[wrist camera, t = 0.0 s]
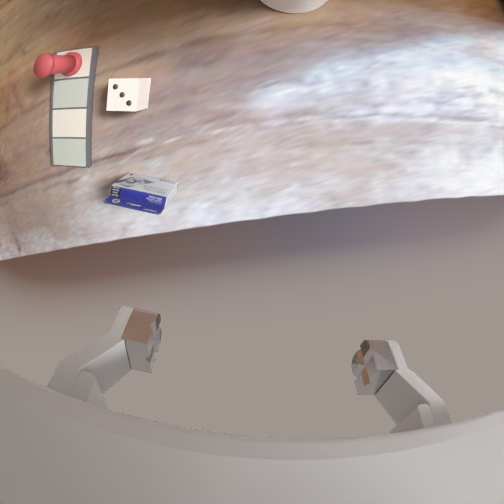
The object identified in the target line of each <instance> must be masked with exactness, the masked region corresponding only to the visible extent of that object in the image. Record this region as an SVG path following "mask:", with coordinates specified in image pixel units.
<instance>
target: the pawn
mask: <svg viewBox="0 0 504 504" xmlns="http://www.w3.org/2000/svg"><path fill="white" fill-rule="evenodd" d="M81 65H82V57H81V55H80V54H79V53H77V52H68V53H66V54H65V55H51V54H49V53H45V54H41V55H40V56H39V57H38V58H37V59H36V61H35V64H34V73H35V75H36V76H37V77H39V78H43V77H47V76H48V75H50V74H60V73H61V74H63V75H64V76H72V75H74V74H76V73H77V72H78V71H79V70H80V68H81Z"/></svg>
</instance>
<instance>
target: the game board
mask: <svg viewBox="0 0 504 504" xmlns="http://www.w3.org/2000/svg"><path fill="white" fill-rule="evenodd" d="M98 49H99V47H97V46H96V47H87V48H79V49H72V50H66V51H60V52H55V53H54V55H65V54H66V53H68V52H77V53H79V54H80V55H81V57H82V65H81V68H80V70H79V71H78V72H77V73H76V74H74V75H72V76H64V75H63V74H61V73H60V74H52V84H51V103H50V149H51V165H59V166H75V167H91V166H92V159H91V140H92V110H93V94H94V82H95V72H96V64H97V56H98Z"/></svg>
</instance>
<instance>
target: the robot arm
mask: <svg viewBox="0 0 504 504" xmlns="http://www.w3.org/2000/svg"><path fill="white" fill-rule="evenodd" d="M260 1H261V2H263V3H264V4H265V5H267V6H268V7H270V8H272V9H275V10H277V11H281V12H285V13H294V14H297V13H306V12H309V11H312V10H315V9H317V8H318V7H320V6H321V5H323V4H324V3H325V2H327V1H329V0H260ZM160 321H161V317H160V314H159V313H155V312H151V311H146V310H142V309H138V308H133V307H129V306H124V305H123V306H122V307H121V308H120V310H119V312H118V314H117V316H116V318H115V321H114V322H113V324H112V326H111V328H110V330H109V333H108V335H102V336H100V337H99V338H97V339H96V340H94V341H93V342H91V343H89V344H87V345H86V346H84V347H83V348H81V349H79V350H78V351H76V352H74V353H73V354H71V355H70V356H68V357H66V358H65V359H63V360H61V361H60V362H59V364H58V366H57V368H56V369H55V372H54V374H53V376H52V378H51V380H50V382H49V384H48V386H47V387H45V386H43V385H41V384H38V383H36V382H34V381H31V380H29V379H27V378H25V377H23V376H21V375H18V374H17V373H15V372H12V371H11V370H9V369H6V368H5V367H3V366H1V365H0V504H504V410H496V411H493V412H490V413H486V414H483V415H479V416H476V417H472V418H468V419H465V420H460V421H456V422H452V423H451V420H450V417H449V414H448V412H447V409H446V406H445V403H444V401H443V400H442V399H441V398H440V397H439V396H438V395H437V394H436V393H435V392H434V391H433V390H432V389H430V387H428V386H427V385H426V384H425V383H424V382H423V381H422V380H421V379H420V378H419V377H418V376H417V375H416V374H415V373H413V371H411V370H408V368H407V366H406V363H405V360H404V358H403V355H402V352H401V350H400V347H399V345H398V343H397V342H396V341H385V340H364V341H363V342H362V343H361V345H360V347H361V350H359V351H357V352H356V353H355V355H354V357H353V359H352V372H353V374H354V375H355V376H356V377H357V378H356V380H355V385H356V390H357V394H358V395H366V394H367V395H375V397H376V398H377V400H378V401H379V402H380V404H381V405H382V406H383V407H384V409H385V410H386V411H387V413H388V414H389V415H390V416H391V418H392V419H393V420H394V421H395V423H396V424H397V425H396V426H395V427H394V428H393V429H392V430H391V431H390V432H389V434H381V435H371V436H361V437H343V438H274V437H257V436H246V435H236V434H226V433H218V432H211V431H203V430H198V429H192V428H186V427H180V426H174V425H170V424H165V423H160V422H156V421H151V420H147V419H143V418H139V417H135V416H131V415H127V414H124V413H120V412H116V411H113V410H110V409H109V408H108V406H107V404H106V402H105V399H104V397H103V395H102V394H104V393H105V392H106V391H107V390H108V389H109V388H110V387H112V386H113V385H114V384H115V383H116V382H117V381H119V380H120V379H121V378H122V377H123V376H124V375H126V374H127V373H128V372H129V371H130V369H134V370H139V371H144V372H148V373H152V369H153V366H154V363H155V353H156V352H157V351H158V349H159V346H160V341H161V327H160V326H159V324H160Z"/></svg>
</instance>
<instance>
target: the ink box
mask: <svg viewBox="0 0 504 504" xmlns="http://www.w3.org/2000/svg"><path fill="white" fill-rule="evenodd" d="M177 190H178V182H174V181H170V180H165V179H159V178H154V177H149V176H144V175H139V174H133V173H128V174H126V175H125V176H123V177H122V178H121V179H119V180H118V181H116V182H115V183H114V184H112V185H111V189H110V192H109V197H108V198H107V199H106V200H105V201H104V203H107V204H112V205H117V206H121V207H126V208H130V209H134V210H138V211H143V212H148V213H153V214H158V215H159V214H161V212H162V211H163V209H164V208H165V207H166V206H167V204H168V203H169V202H170V200H171V199H172V197H173V196H174V195H175V193H176V192H177ZM126 203H132V204H137V205H141V206H140V207H139V206H132V205H130V204H126Z"/></svg>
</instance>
